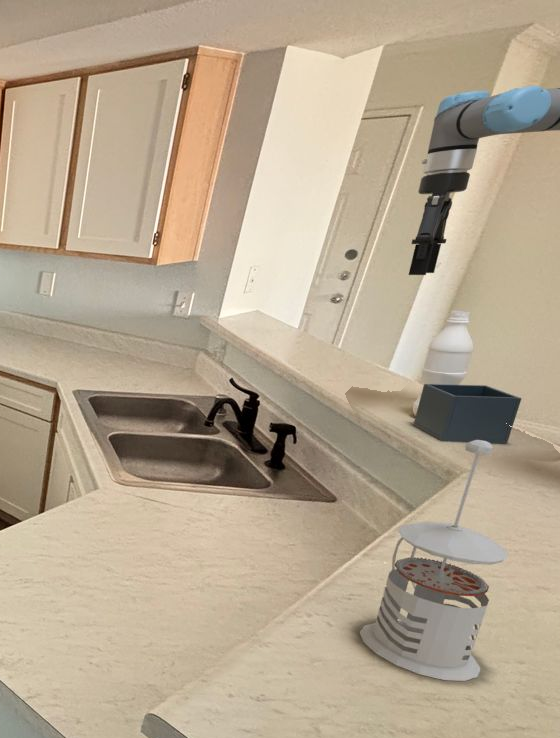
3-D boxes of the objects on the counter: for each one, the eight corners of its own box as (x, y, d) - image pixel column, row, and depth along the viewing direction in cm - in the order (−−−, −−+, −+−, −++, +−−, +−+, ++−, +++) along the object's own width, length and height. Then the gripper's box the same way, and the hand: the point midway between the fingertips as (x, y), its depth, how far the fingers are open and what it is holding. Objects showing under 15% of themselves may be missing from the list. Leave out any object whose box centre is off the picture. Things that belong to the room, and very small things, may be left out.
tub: (473, 428, 130) (486, 385, 127) (507, 443, 121) (521, 398, 118) (413, 425, 134) (424, 383, 131) (441, 440, 124) (453, 396, 121)
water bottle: (413, 420, 137) (442, 312, 129) (407, 412, 142) (434, 308, 135) (456, 424, 133) (488, 313, 125) (448, 416, 138) (478, 309, 131)
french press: (385, 671, 63) (449, 454, 55) (337, 608, 73) (385, 418, 65) (505, 689, 60) (589, 461, 52) (437, 620, 70) (499, 422, 62)
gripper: (429, 179, 138) (407, 272, 143) (413, 171, 122) (389, 275, 128) (476, 175, 132) (451, 272, 138) (465, 166, 117) (437, 275, 123)
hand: (421, 274), depth 133 cm, fingers open, 13 cm apart
